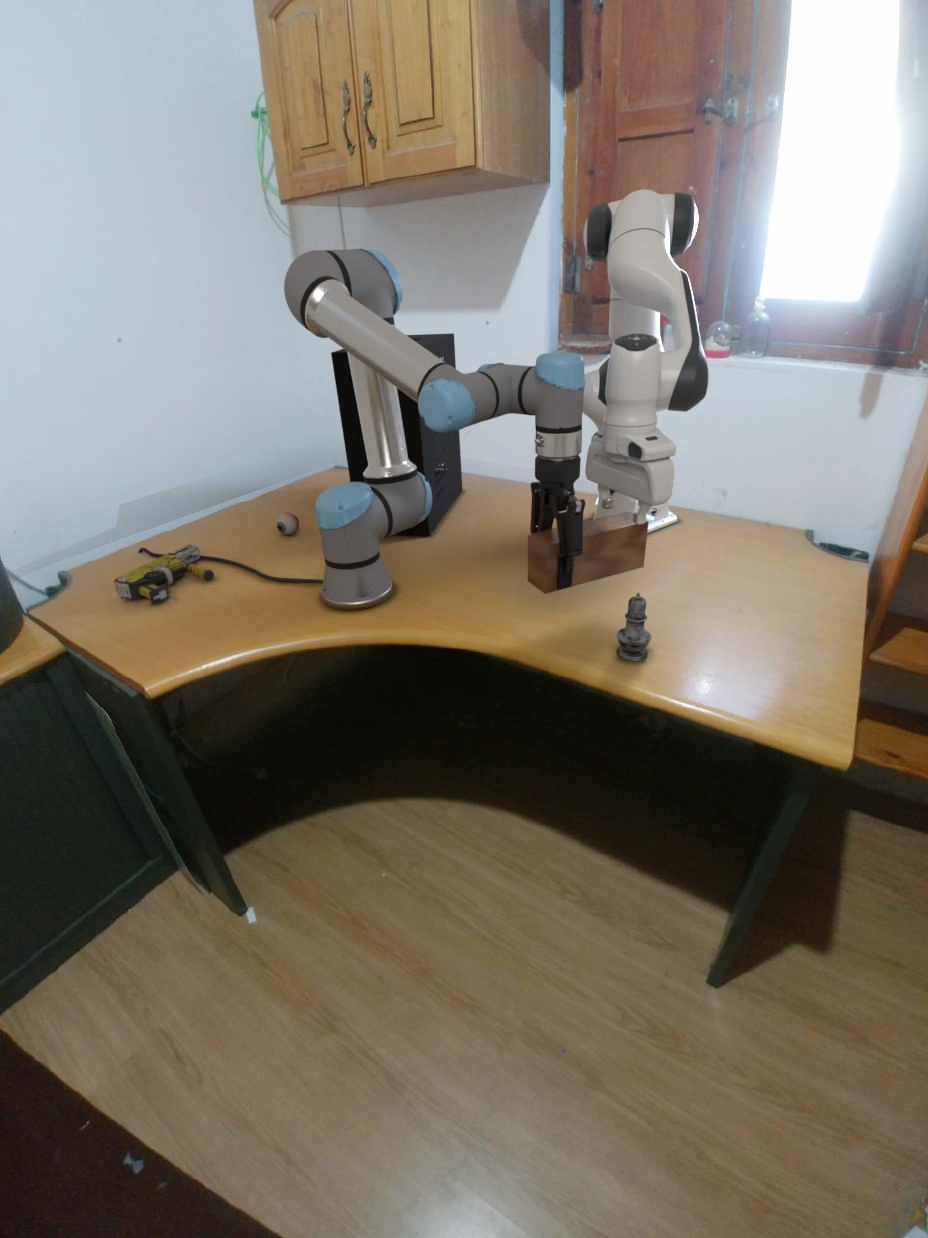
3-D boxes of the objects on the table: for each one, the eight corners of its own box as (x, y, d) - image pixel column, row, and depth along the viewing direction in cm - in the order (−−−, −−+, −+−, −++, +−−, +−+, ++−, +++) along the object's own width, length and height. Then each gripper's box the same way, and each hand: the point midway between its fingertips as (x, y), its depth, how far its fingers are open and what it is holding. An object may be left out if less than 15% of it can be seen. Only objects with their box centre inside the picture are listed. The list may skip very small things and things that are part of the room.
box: (623, 555, 120) (628, 511, 115) (643, 567, 115) (648, 520, 110) (527, 581, 112) (527, 534, 108) (544, 594, 108) (545, 545, 103)
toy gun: (236, 552, 148) (186, 541, 152) (163, 592, 128) (107, 579, 132) (239, 569, 150) (189, 559, 154) (167, 611, 130) (112, 598, 134)
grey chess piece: (650, 663, 103) (658, 601, 97) (615, 660, 105) (620, 600, 99) (648, 644, 108) (655, 585, 102) (614, 642, 110) (620, 583, 104)
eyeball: (273, 537, 164) (268, 516, 161) (287, 528, 169) (282, 508, 166) (291, 539, 161) (286, 518, 158) (305, 530, 166) (301, 510, 163)
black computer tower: (429, 535, 159) (413, 350, 136) (357, 532, 163) (331, 352, 141) (462, 490, 190) (453, 333, 168) (401, 488, 195) (385, 335, 172)
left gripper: (510, 446, 106) (511, 565, 117) (570, 472, 91) (565, 607, 102) (546, 440, 108) (544, 557, 120) (611, 464, 93) (602, 596, 105)
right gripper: (578, 430, 111) (575, 503, 118) (652, 453, 95) (644, 535, 102) (607, 426, 113) (602, 497, 120) (684, 447, 97) (674, 528, 104)
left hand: (554, 580), depth 111 cm, fingers closed on box, 6 cm apart
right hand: (622, 515), depth 111 cm, fingers open, 8 cm apart
